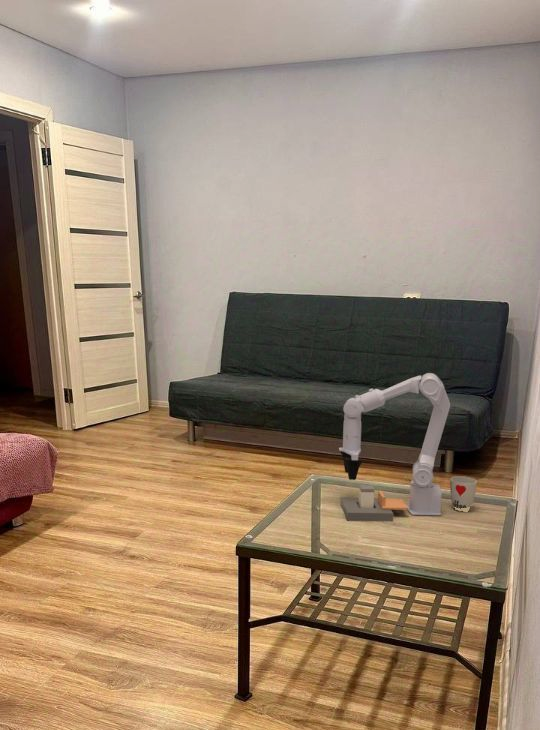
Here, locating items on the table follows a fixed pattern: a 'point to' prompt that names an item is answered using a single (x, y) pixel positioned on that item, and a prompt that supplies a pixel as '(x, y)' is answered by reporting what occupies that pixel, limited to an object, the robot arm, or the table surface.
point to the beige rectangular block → (366, 496)
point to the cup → (462, 491)
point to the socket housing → (364, 511)
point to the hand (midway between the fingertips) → (350, 475)
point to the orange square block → (391, 503)
